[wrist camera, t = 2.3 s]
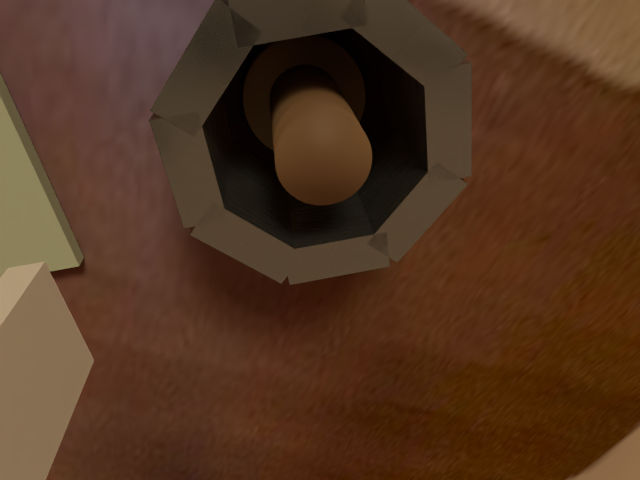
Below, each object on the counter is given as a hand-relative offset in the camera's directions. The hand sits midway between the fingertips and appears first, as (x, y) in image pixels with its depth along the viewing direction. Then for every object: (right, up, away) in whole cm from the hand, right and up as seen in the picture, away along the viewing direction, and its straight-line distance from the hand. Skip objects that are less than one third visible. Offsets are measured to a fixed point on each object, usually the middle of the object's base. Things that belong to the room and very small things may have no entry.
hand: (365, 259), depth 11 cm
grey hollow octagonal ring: (-2, +7, +12) cm, 14 cm away
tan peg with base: (-2, +7, +12) cm, 14 cm away
